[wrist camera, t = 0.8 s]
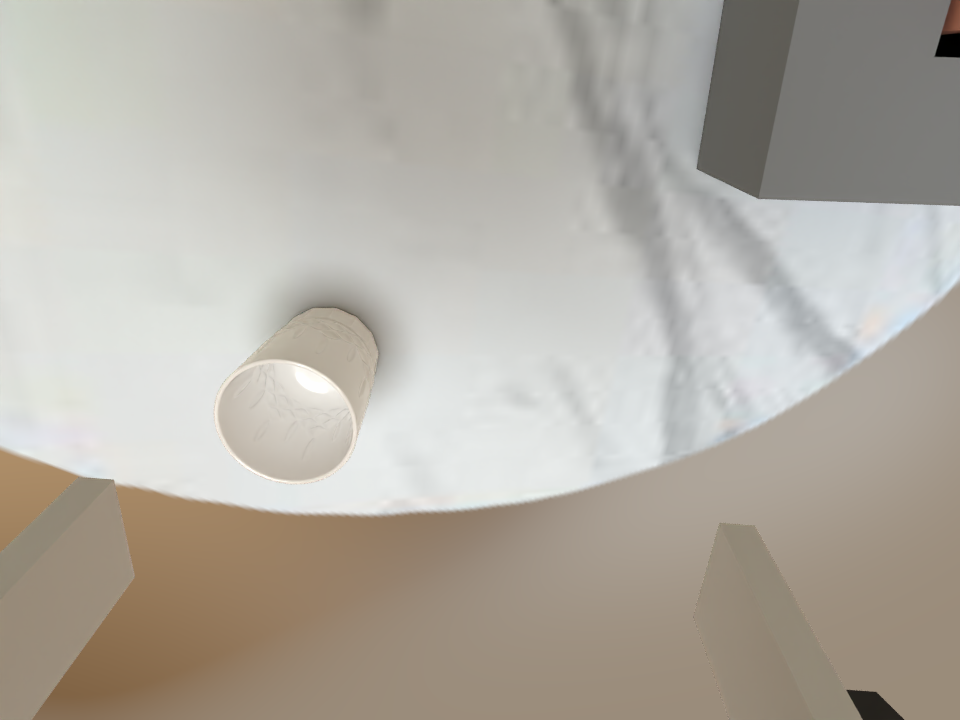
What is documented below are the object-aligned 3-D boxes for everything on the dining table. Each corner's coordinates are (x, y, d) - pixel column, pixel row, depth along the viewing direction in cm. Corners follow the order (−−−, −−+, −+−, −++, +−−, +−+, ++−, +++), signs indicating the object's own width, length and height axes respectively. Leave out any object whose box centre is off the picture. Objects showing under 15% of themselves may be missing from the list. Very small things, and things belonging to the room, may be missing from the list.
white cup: (404, 327, 43) (378, 395, 34) (363, 418, 46) (329, 504, 37) (294, 278, 42) (235, 336, 32) (259, 375, 45) (197, 452, 35)
